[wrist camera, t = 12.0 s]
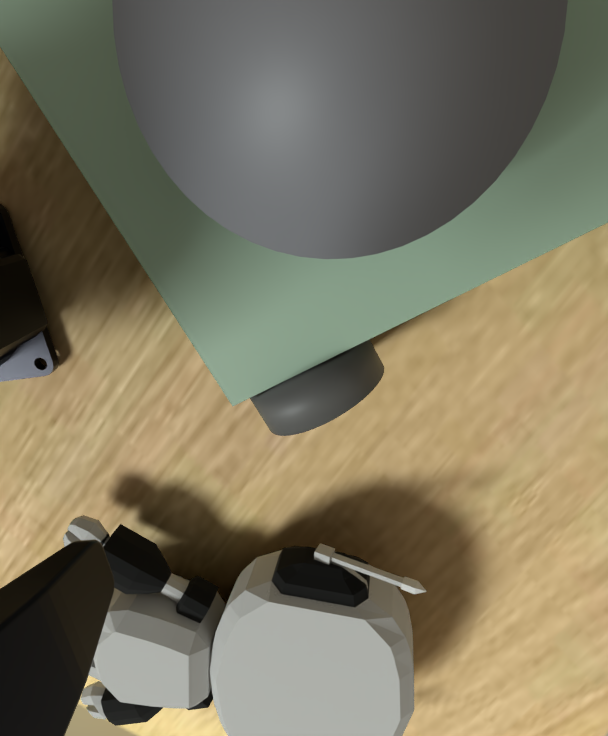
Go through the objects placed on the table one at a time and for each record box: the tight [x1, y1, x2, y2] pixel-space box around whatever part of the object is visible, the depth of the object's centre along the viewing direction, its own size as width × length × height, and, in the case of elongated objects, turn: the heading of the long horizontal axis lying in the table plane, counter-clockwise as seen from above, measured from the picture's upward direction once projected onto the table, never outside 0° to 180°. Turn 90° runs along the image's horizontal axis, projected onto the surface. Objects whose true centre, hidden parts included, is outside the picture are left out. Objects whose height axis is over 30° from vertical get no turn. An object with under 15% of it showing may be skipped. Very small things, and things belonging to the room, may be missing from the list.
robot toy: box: [63, 515, 427, 736], centre depth 24 cm, size 12×4×15 cm
